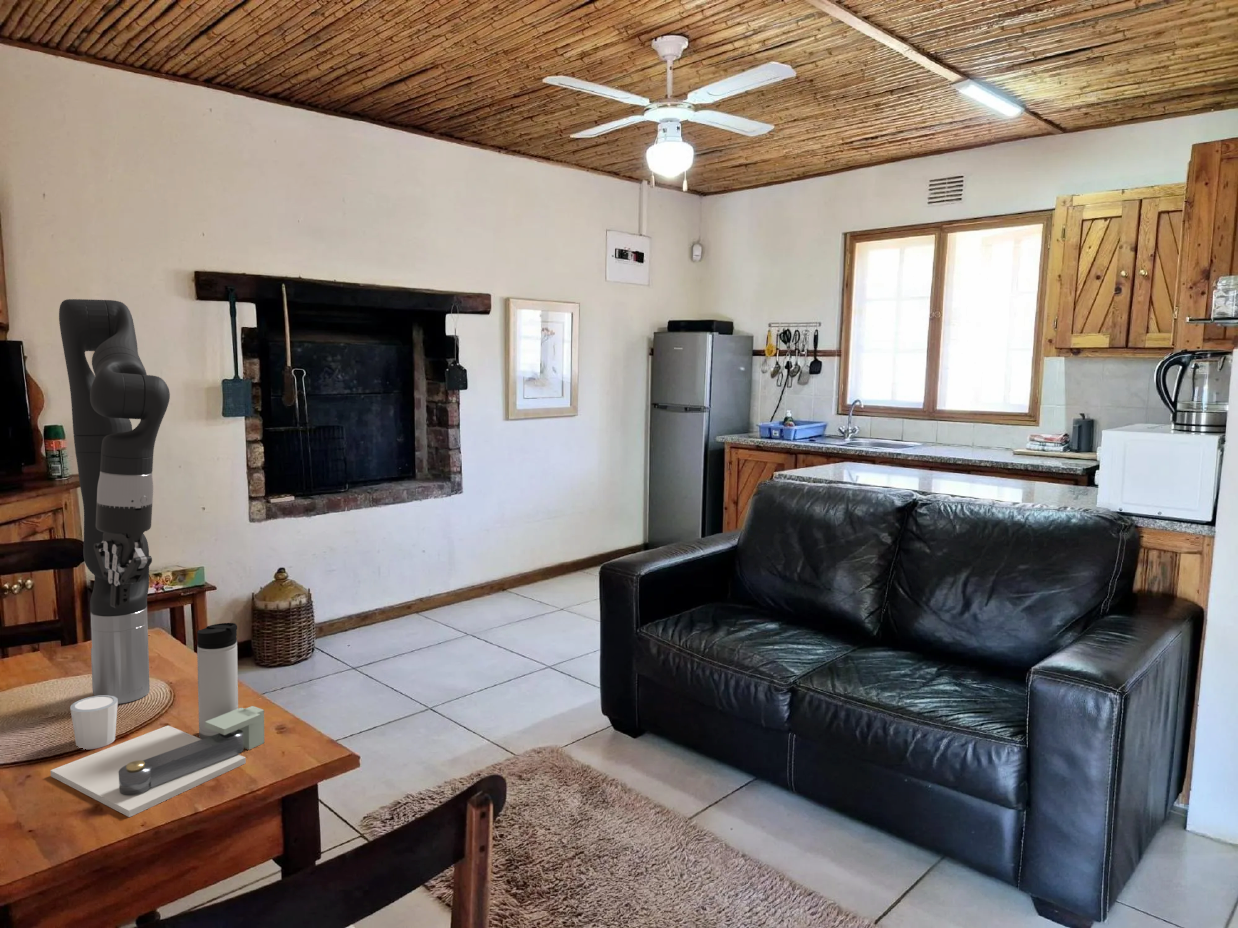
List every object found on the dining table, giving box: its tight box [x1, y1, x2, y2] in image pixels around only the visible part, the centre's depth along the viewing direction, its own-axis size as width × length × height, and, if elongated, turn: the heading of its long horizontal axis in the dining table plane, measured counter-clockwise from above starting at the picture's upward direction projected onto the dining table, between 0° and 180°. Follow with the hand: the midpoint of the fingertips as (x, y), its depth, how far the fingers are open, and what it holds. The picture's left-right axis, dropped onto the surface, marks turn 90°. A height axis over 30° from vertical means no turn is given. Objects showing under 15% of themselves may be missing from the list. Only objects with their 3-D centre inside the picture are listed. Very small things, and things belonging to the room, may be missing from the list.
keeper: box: [205, 705, 265, 750], centre depth 137 cm, size 5×8×6 cm, turn 151°
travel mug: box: [196, 622, 239, 739], centre depth 142 cm, size 6×7×20 cm
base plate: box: [50, 725, 247, 818], centre depth 130 cm, size 21×19×1 cm
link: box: [119, 729, 244, 795], centre depth 128 cm, size 19×4×4 cm, turn 145°
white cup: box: [69, 695, 119, 750], centre depth 138 cm, size 7×7×7 cm
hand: (119, 606), depth 129 cm, fingers closed
